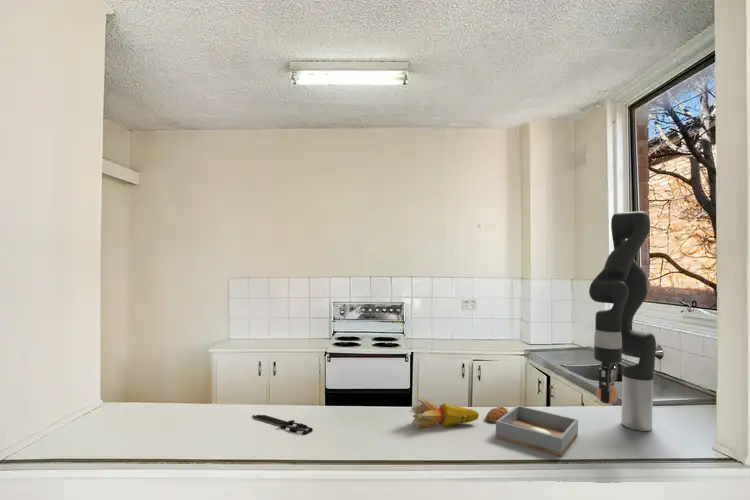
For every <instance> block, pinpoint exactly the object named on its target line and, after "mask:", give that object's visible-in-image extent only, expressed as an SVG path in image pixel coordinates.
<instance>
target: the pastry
mask: <svg viewBox="0 0 750 500" xmlns="http://www.w3.org/2000/svg"><path fill="white" fill-rule="evenodd" d="M508 412H509V411H508V409H507V408H506V407H504V406H497V407H494V408H492V409H490V410H488V412H487V414H486V415H485V419H486V421H488V422H492V423H495V424H496V421H497V420H498V419H500V418H501V417H502V416H504V415H505V414H507V413H508Z"/></svg>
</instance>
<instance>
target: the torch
mask: <svg viewBox="0 0 750 500" xmlns="http://www.w3.org/2000/svg"><path fill="white" fill-rule="evenodd" d="M414 398H415V400H417V401H418V402H419V403H420V404H417V405H413V406H412V407H410V408H411V409H410V410H409V412H410V413H414V414H412V417H413V420H412V422H411V423H410V424H409V425H411V426H415V427H414V428H413V429H414V430H416V429H417V430H418V429H423V428H428V427H432V426H435V425H437V424H438V425H439V426H440V427H441V428H443V429H444V428H447V427H449V426H453V425H456V424H457V425H458V424H466V423H472V422H475V421H477V420H478V419H479V416H480V415H479V412H478V411H477V410H475V409H471V408H465V407H462V406H456V405H452V404H447V403H442V404H441V405H439V406H437V405H435V404H434V403H433V402H431V401H430V400H428V399H427V398H425V397H414Z"/></svg>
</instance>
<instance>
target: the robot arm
mask: <svg viewBox="0 0 750 500" xmlns="http://www.w3.org/2000/svg"><path fill="white" fill-rule="evenodd" d="M610 224H611V225H610V226H611V227H610V229H611V236H612V243H613V250H612V251H611V252H610V254H609V255H608V256H607V259H606V262H605V264H604V267H603V269H602V270H601V271H600V272H599V273H598V274H597V276H596V277H594V279H593V280H592V282H591V284H590V286H589V287H588V288H589V289H588V292H589V293H588V294H589V297H590V299H591V300H592V301H593V302H596V303H603V304H604V303H605V304H613V305H612V307H611V308H610V309H604V310H598V311H597V312H596V313H595V329H594V330H595V332H594V337H593V340H594V341H593V343H594V344H593V348H594V349H593V358H594V360H596V361H598V362H601V364H600V366H599V367H598V386H599V389H600V390H601V401H600V402H601V403H603V404H605V403H609V395H610V384H611V385H612V386H615V382H616V372H617V368H616V367H617V364H620V363H622V359H623V357H622V356H623V355H624V356H628V357H633V358H638V359H639V361H638V363H637V364H631V365H629V364H628V365H625V366H623V367H622V376H621V377H622V378H621V379H622V381H621V385H622V388H621V425H622V426H624V427H626V428H628V429H630V430H635V431H642V432H648V431H652V430H653V403H654V402H653V401H654V399H653V398H654V393H653V392H654V385H653V384H654V372H655V365H656V352H657V341H656V337H655V336H654V334H653V333H651V332H645V331H640V330H633V321H634V316H635V315H636V313H637V312H638V310H639V309H640V307H641V306H642V304H643V303H644V301H645V300H646V298H647V296H648V285H647V284H648V282H647V280H648V279H647V276H646V273H645V271H644V269H643V268H642V267H641V266H640V264H639V263H638V262H637V261H636V260H635V257H636V256H637V253H638V252H639V251H640V249H641V248H642V246H643V244H644V242H645V241H646V239H647V237H648V234H649V233H650V229H651V219H650V216H649V214H648V213H647V212H645V211H625V212H623V211H622V212H615V213H614V214H612V217H611V222H610ZM605 383H606V386H604V385H603V384H605Z"/></svg>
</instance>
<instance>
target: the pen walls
mask: <svg viewBox="0 0 750 500" xmlns="http://www.w3.org/2000/svg"><path fill="white" fill-rule="evenodd" d="M518 418H522V419H526V420H530V421H534V422H538V423H542V424H546V425H550V426H553V427H557V428H561V429H565V430H566V431H565V432H564V433H563V434H562V435H561V436H560V437H557V436H554V435H550V434H546V433H542V432H538V431H535V430H531V429H527V428H523V427H520V426H516V425H512V423H513V422H514V421H516V420H517V419H518ZM577 432H578V433H579V419H577V418H572V417H569V416H564V415H560V414H557V413H551V412H548V411H544V410H539V409H535V408H531V407H526V406H522V405H519V404H518V405H515V406H514V407H513V408H512V409H511V410H509V411H508V413H507V414H505V415H504V416H502V417H501V418H500V419H498V420H497V421H496V423H495V435H496V434H498V435H502V436H505V437H509V438H512V439H516V440H519V441H523V442H526V443H530V444H533V445H537V446H540V447H544V448H547V449H551V450H554V451H558V452H561V453H562V451H563V450H564V449H565V447H566V446H567V445H568V444H569V442H570V441H571V440H572V439H573V437H574V436H575V435H576V434H577Z"/></svg>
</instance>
